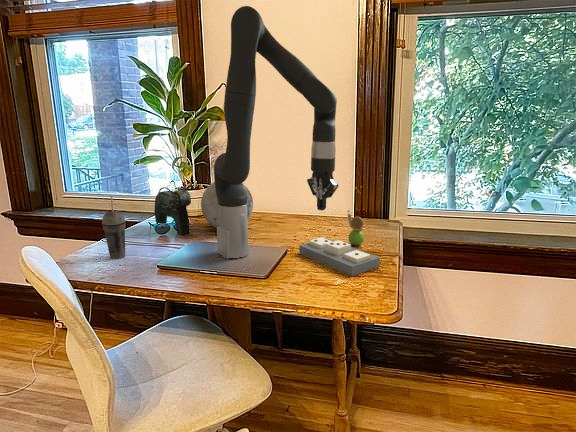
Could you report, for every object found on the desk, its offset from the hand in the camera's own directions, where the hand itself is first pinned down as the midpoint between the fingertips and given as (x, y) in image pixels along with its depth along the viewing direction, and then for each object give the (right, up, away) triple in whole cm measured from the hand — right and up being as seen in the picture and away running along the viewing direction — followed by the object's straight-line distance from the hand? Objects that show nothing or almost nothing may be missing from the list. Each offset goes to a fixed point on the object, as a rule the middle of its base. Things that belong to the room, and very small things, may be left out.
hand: (321, 209), depth 142 cm
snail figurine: (+13, -12, +13) cm, 22 cm away
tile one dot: (+10, -16, -8) cm, 21 cm away
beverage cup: (-66, -15, +2) cm, 68 cm away
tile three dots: (+5, -13, -2) cm, 14 cm away
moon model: (-34, -7, +31) cm, 47 cm away
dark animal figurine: (-56, -8, +30) cm, 64 cm away
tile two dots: (0, -13, +4) cm, 13 cm away
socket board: (+5, -16, -2) cm, 17 cm away
